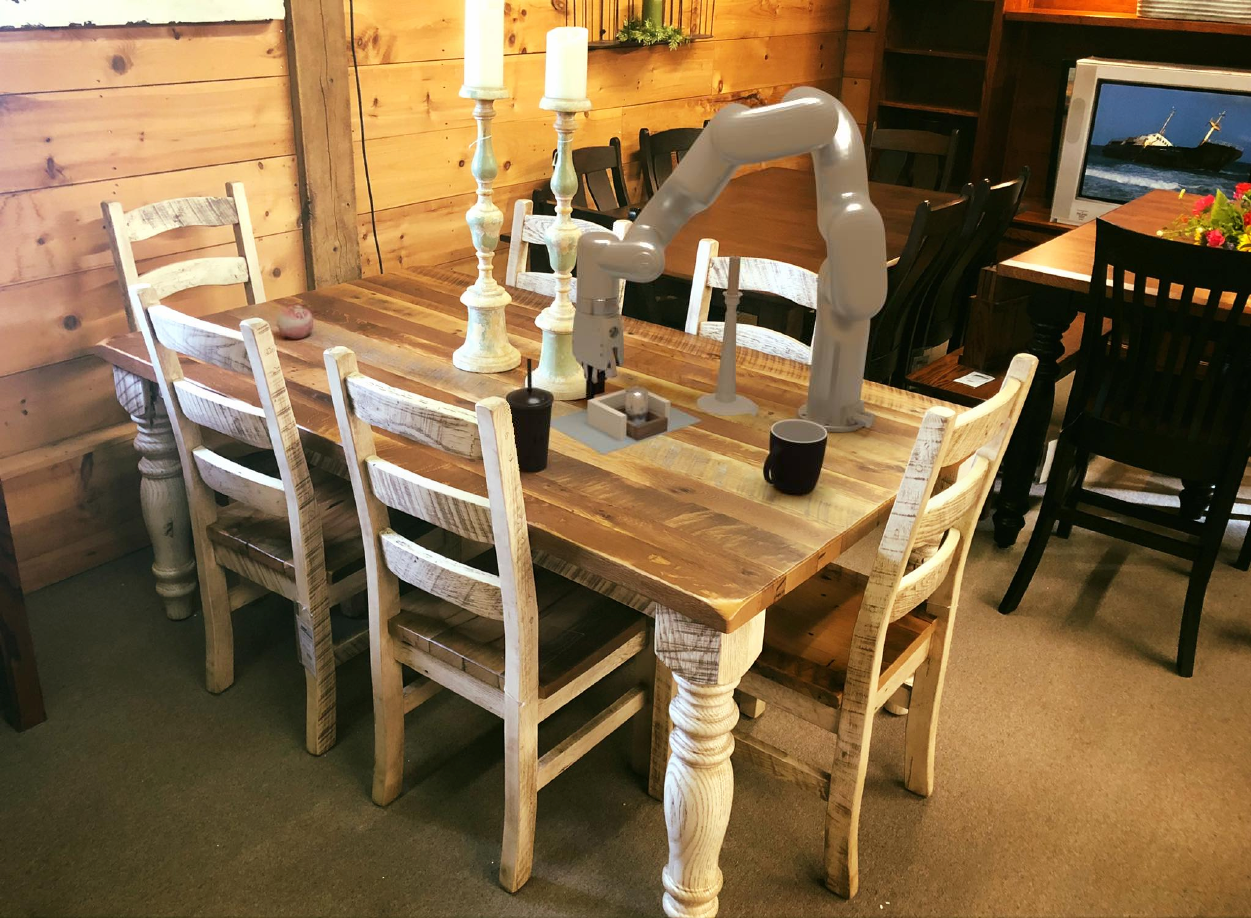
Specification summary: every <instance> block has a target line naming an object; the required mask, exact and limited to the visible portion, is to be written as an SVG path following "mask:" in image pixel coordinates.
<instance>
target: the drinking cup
mask: <svg viewBox="0 0 1251 918" xmlns="http://www.w3.org/2000/svg"><path fill="white" fill-rule="evenodd" d="M526 367H527V368H526V375H527V376H526V378H527V383H526V384H527V386H526V387H520V388H519V389H515V390H511V391H509V392H508V393H507V394H506V396H505V402H506V401H507V402H508V403H509V405H510V409H511V414H512V423H513V427H514V435H515V444H516V448H517V456H518V464H519V468H520V471H519V472H522V473H528V474H530V473H531V474H535V473H539V472H542V471H544V470H546V469H547V466H548V454H549V444H550V443H549V442H550V434H551V433H550V431H551V426H550V423H551V419H552V410H553V409H552V408H553V403H554V401H555V396H554V394H553V393H552V391H551V392H550V391H549V390H545V389H542V388H538V387H534V386H533V381H532V380H533V376H532V372H533V371H532V369H533V368H532V358H526ZM507 402H506V403H507Z"/></svg>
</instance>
